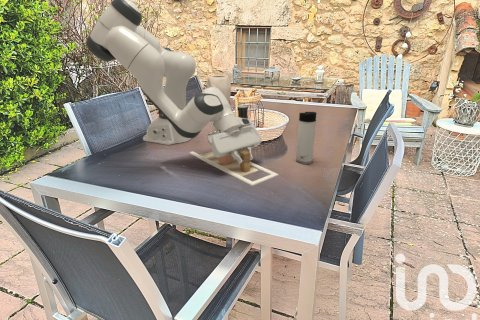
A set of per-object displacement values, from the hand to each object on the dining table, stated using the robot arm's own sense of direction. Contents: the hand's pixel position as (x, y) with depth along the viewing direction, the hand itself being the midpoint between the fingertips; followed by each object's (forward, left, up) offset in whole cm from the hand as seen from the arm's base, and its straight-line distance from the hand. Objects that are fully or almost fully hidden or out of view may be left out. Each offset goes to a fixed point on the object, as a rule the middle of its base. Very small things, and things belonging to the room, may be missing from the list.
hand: (246, 161), depth 113 cm
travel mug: (+19, +17, -6) cm, 27 cm away
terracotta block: (-9, +7, -4) cm, 12 cm away
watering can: (-42, +102, -6) cm, 110 cm away
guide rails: (-7, +5, -5) cm, 10 cm away
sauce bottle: (-6, +20, -6) cm, 22 cm away
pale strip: (-9, +6, -5) cm, 12 cm away
